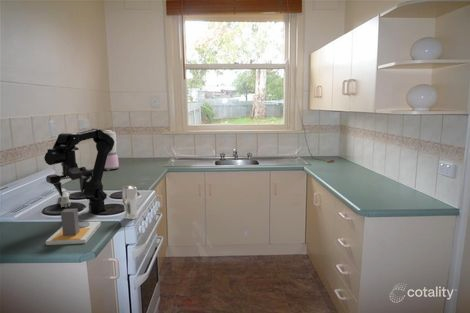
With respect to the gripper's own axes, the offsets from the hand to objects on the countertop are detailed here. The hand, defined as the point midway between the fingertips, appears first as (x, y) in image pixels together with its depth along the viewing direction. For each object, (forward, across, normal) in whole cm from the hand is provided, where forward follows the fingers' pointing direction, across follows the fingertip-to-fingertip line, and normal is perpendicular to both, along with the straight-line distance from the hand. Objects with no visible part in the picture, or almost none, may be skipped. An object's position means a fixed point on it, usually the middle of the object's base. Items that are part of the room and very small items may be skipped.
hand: (72, 194), depth 154 cm
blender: (+13, +69, +99) cm, 121 cm away
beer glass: (+13, +20, -16) cm, 29 cm away
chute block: (+11, -9, -19) cm, 24 cm away
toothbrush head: (+14, +10, +35) cm, 38 cm away
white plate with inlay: (+13, -6, -16) cm, 22 cm away
